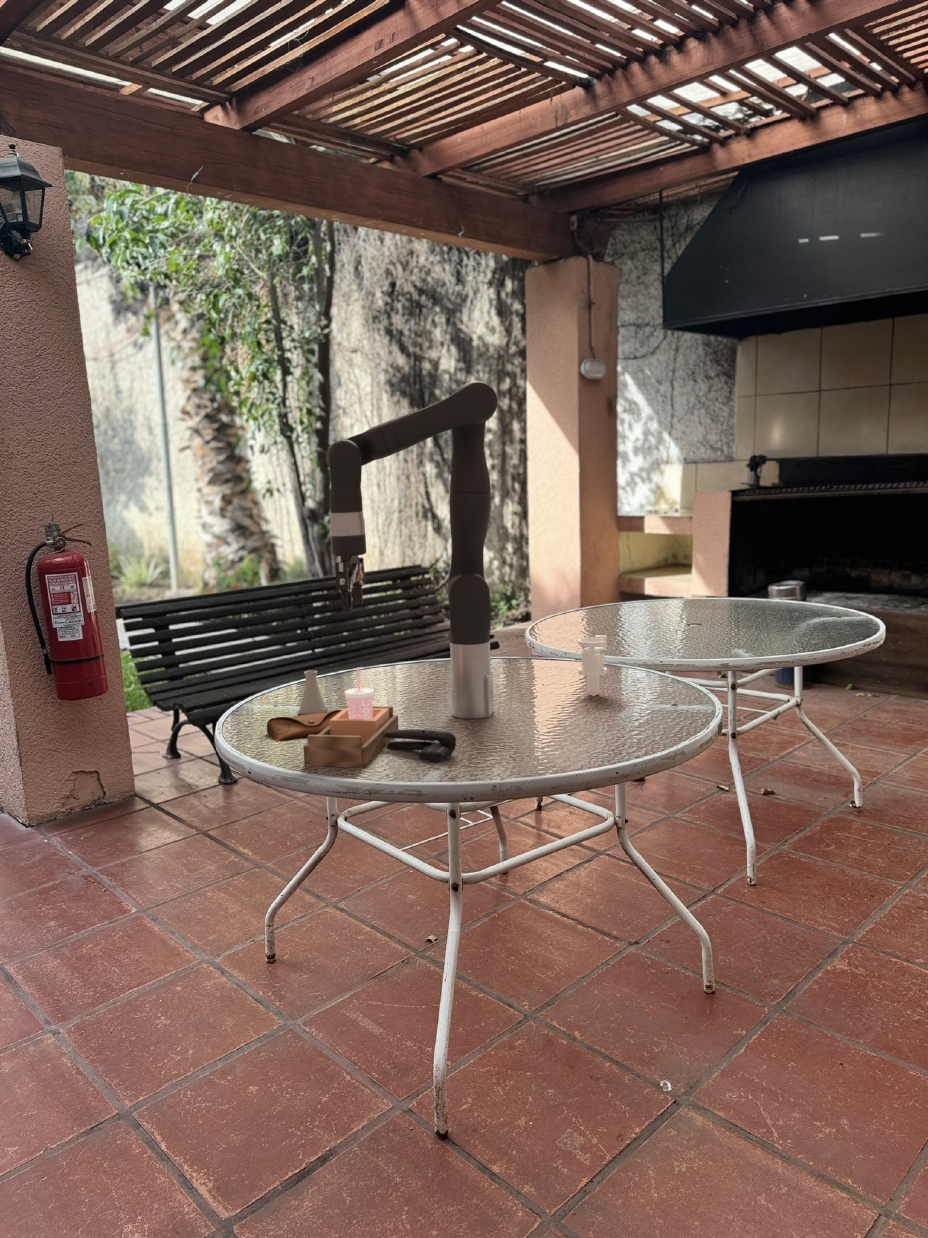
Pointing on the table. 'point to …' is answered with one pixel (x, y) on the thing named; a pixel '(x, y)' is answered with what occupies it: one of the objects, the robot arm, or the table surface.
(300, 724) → the sunglasses case
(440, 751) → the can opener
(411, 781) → the table surface
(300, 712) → the flask
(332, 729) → the box
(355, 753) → the bay
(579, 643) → the white plastic upright piece
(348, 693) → the beverage cup
